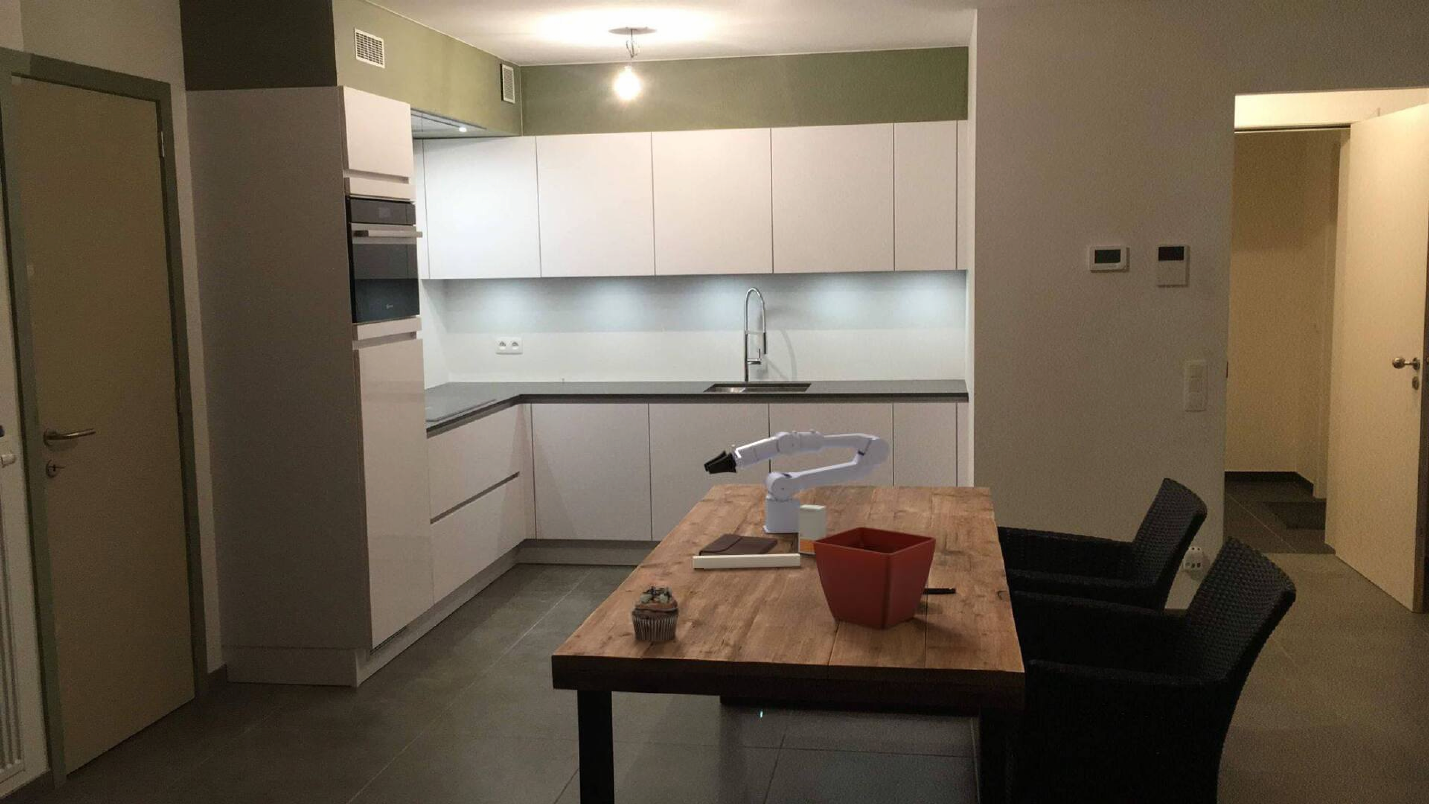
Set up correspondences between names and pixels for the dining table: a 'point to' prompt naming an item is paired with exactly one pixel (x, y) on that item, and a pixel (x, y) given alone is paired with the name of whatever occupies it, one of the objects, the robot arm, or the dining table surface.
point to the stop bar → (746, 561)
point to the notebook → (738, 545)
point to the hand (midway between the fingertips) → (706, 469)
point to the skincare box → (811, 527)
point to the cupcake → (655, 615)
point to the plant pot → (874, 574)
